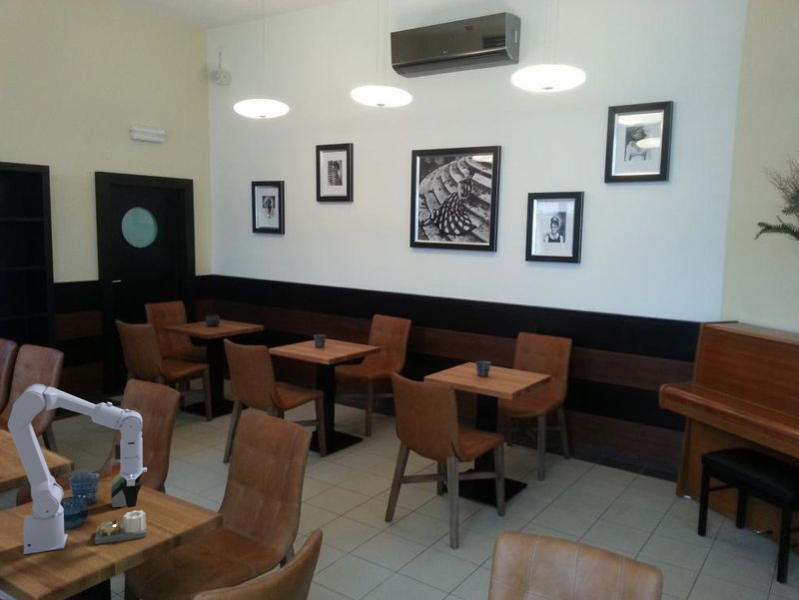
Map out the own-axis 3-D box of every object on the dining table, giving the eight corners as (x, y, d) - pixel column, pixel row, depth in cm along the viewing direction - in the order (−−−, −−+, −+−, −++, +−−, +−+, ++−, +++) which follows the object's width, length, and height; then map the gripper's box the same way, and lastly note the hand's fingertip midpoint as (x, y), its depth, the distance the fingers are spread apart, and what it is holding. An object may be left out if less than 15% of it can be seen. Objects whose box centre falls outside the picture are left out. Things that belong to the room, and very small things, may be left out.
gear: (97, 537, 166) (97, 526, 166) (99, 528, 171) (99, 517, 171) (120, 534, 168) (120, 523, 168) (121, 525, 174) (121, 514, 173)
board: (94, 544, 165) (94, 527, 165) (97, 531, 173) (97, 515, 172) (146, 537, 170) (145, 520, 170) (146, 525, 178) (146, 508, 177)
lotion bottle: (112, 501, 193) (112, 440, 192) (132, 499, 195) (131, 439, 193) (110, 508, 188) (109, 446, 186) (129, 507, 190) (129, 445, 188)
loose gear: (123, 533, 169) (123, 520, 168) (124, 525, 174) (123, 511, 173) (145, 530, 171) (145, 517, 170) (145, 522, 176) (145, 509, 176)
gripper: (146, 461, 166) (146, 509, 167) (147, 445, 179) (147, 489, 180) (118, 464, 163) (118, 513, 164) (121, 447, 176) (121, 492, 177)
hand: (131, 501), depth 172 cm, fingers open, 7 cm apart
